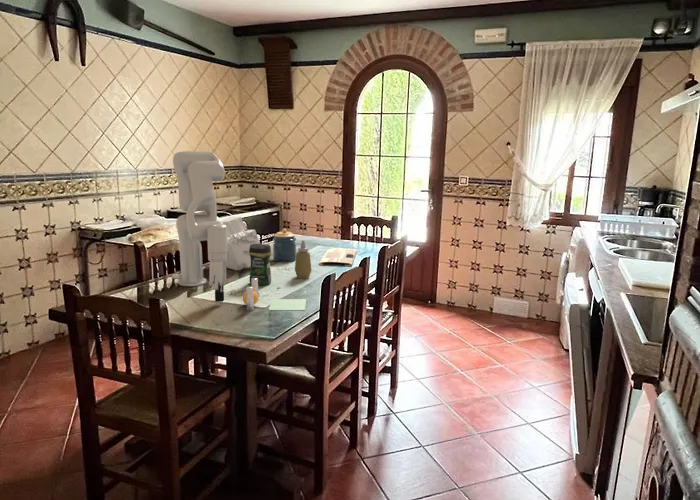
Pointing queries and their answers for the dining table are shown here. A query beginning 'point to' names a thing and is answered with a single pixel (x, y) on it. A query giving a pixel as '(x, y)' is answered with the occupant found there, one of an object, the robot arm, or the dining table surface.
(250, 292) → the post
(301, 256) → the squeeze bottle
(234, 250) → the white lumpy block
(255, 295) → the ball
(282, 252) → the canister
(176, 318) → the dining table surface
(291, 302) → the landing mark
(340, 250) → the newspaper
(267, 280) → the coffee jar
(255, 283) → the post
